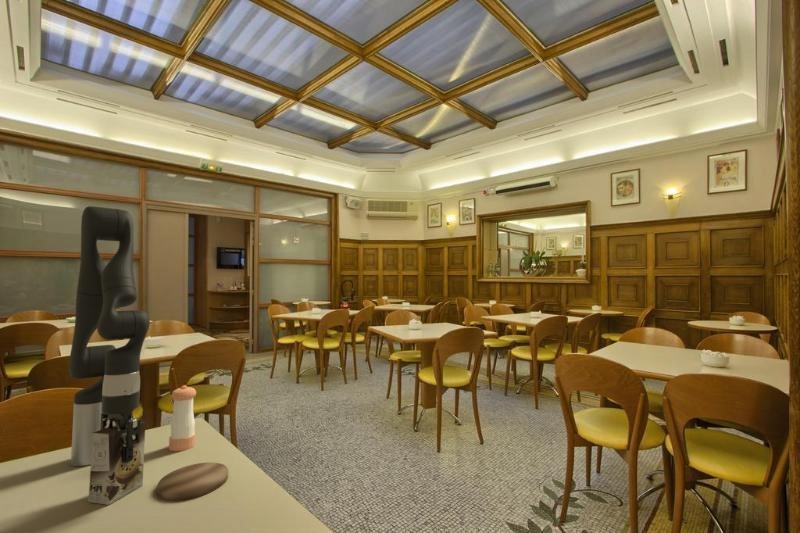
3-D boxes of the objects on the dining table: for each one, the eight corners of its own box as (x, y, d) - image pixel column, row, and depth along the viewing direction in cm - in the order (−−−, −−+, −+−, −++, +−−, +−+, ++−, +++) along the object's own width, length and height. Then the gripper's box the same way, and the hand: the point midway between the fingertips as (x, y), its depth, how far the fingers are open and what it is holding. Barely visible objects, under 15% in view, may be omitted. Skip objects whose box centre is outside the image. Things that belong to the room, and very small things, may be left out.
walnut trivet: (143, 489, 92) (143, 483, 92) (203, 463, 106) (203, 457, 106) (181, 507, 85) (182, 500, 85) (241, 476, 99) (241, 470, 99)
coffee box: (109, 505, 85) (112, 434, 86) (87, 502, 87) (90, 432, 88) (144, 485, 94) (146, 420, 95) (123, 482, 96) (126, 419, 97)
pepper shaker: (175, 442, 121) (177, 383, 122) (199, 441, 122) (200, 382, 123) (164, 452, 114) (166, 389, 115) (189, 450, 115) (190, 388, 116)
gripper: (89, 390, 92) (86, 458, 91) (119, 398, 85) (116, 471, 84) (123, 384, 99) (120, 446, 98) (153, 390, 92) (151, 458, 91)
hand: (118, 458), depth 91 cm, fingers closed on coffee box, 7 cm apart
